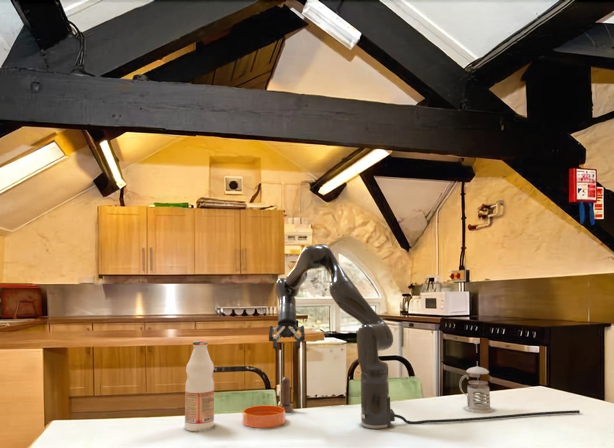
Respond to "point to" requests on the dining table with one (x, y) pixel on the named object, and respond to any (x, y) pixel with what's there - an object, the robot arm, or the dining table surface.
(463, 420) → the robot arm
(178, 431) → the dining table surface
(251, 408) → the bowl
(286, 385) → the pestle
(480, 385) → the french press
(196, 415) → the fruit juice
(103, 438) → the dining table surface
